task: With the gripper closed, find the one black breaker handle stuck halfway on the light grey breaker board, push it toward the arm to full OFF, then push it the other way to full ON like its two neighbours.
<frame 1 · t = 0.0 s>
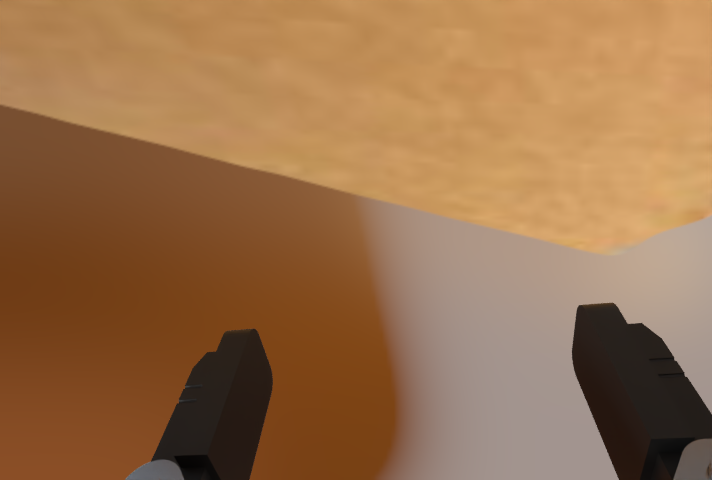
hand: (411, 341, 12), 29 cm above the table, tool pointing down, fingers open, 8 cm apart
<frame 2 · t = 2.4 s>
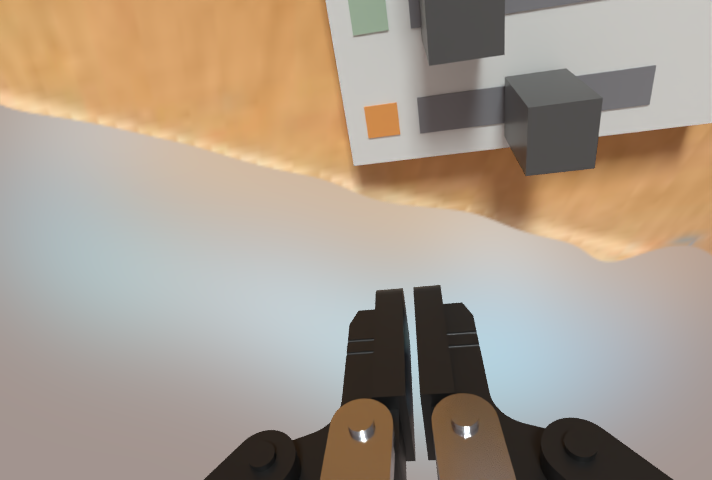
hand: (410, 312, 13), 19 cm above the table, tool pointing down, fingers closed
tripped breaker handle: (546, 119, 23), point 6 cm above the table, slide at 0.0 cm
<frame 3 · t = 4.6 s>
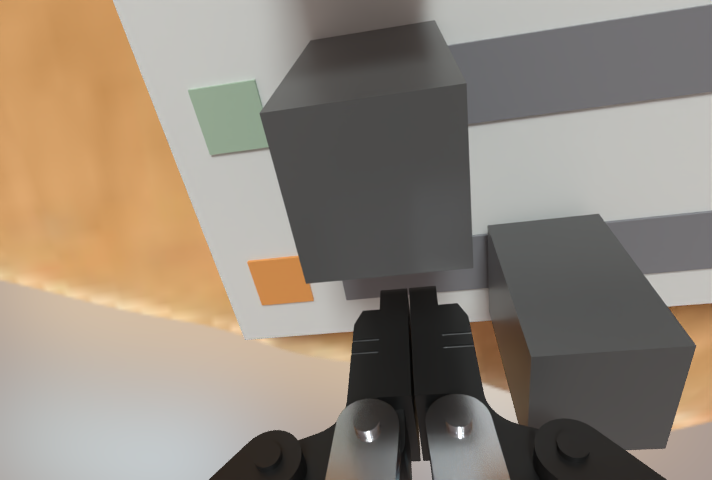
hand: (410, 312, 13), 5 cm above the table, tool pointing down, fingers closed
breaker panel: (515, 48, 14), on the table
tripped breaker handle: (565, 323, 12), point 6 cm above the table, slide at -0.1 cm, touching gripper
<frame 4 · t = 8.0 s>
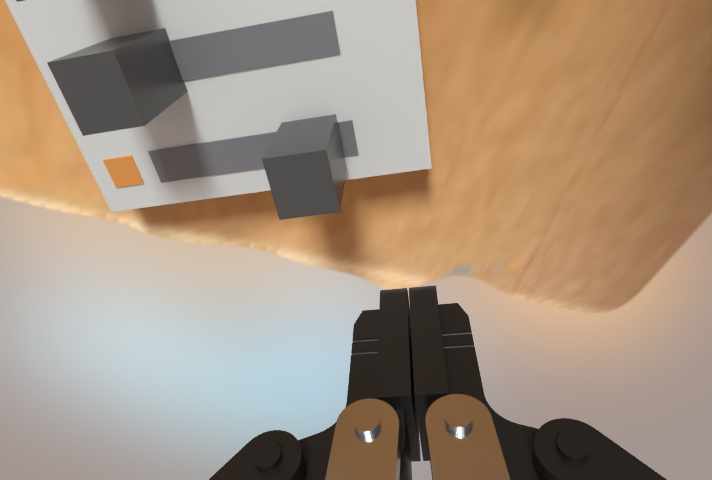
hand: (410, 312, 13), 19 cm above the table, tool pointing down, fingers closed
breaker panel: (237, 41, 27), on the table
tripped breaker handle: (309, 164, 25), point 6 cm above the table, slide at -3.7 cm
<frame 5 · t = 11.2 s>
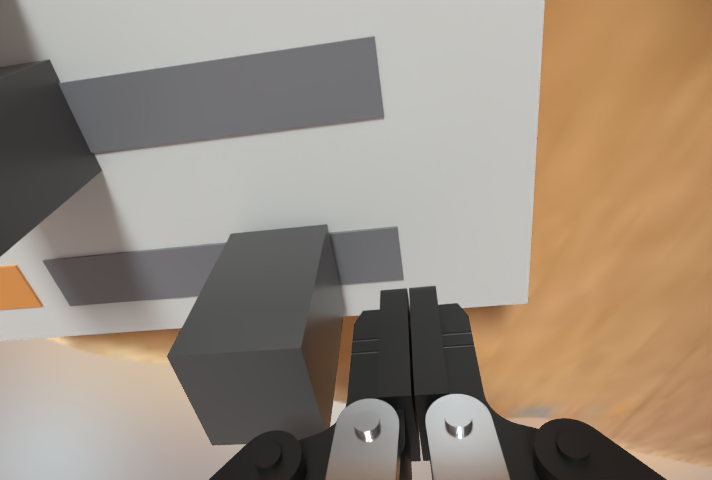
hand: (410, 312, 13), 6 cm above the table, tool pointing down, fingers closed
breaker panel: (197, 77, 16), on the table
tripped breaker handle: (274, 326, 13), point 6 cm above the table, slide at -2.5 cm, touching gripper
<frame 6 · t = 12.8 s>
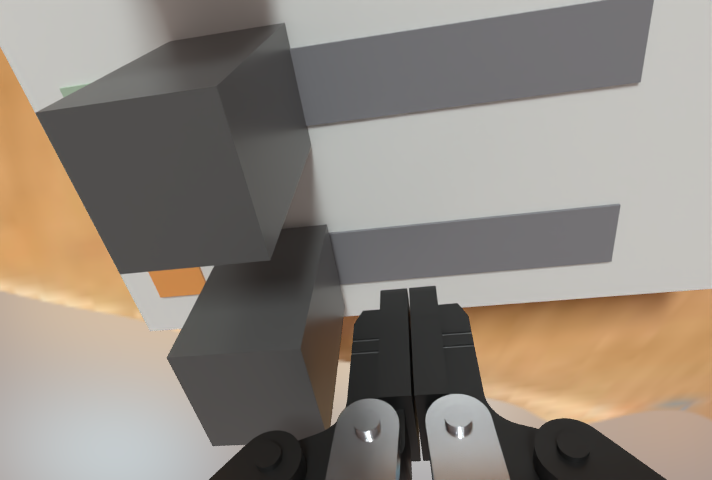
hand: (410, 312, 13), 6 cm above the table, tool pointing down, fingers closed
breaker panel: (393, 49, 15), on the table
tripped breaker handle: (274, 326, 13), point 6 cm above the table, slide at 3.9 cm, touching gripper
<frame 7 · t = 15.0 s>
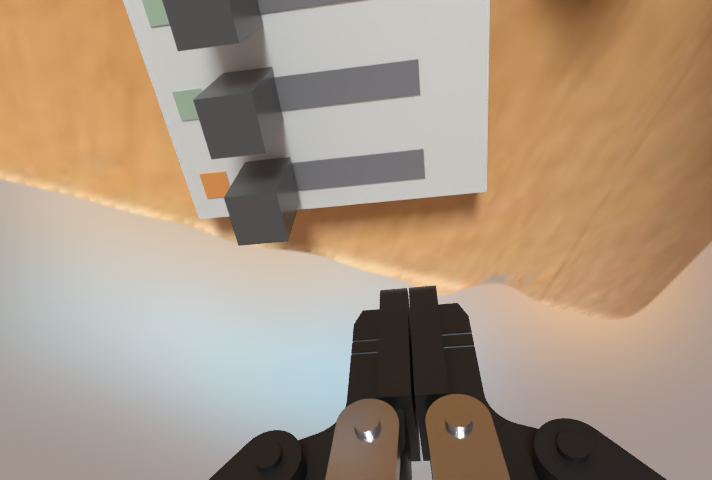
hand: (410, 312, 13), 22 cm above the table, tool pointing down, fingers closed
breaker panel: (323, 76, 31), on the table
tripped breaker handle: (265, 199, 30), point 6 cm above the table, slide at 4.0 cm
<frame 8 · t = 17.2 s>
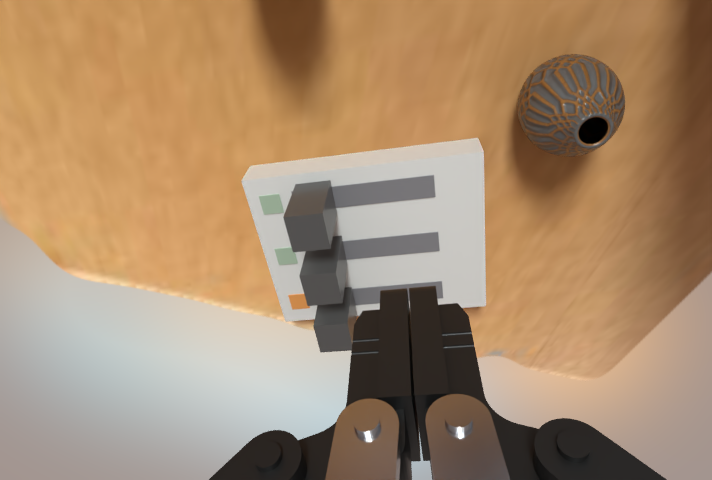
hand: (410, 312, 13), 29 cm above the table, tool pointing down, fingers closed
breaker panel: (372, 230, 46), on the table
vase: (553, 91, 38), on the table
tripped breaker handle: (336, 318, 44), point 6 cm above the table, slide at 4.0 cm
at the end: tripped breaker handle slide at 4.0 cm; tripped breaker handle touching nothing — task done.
